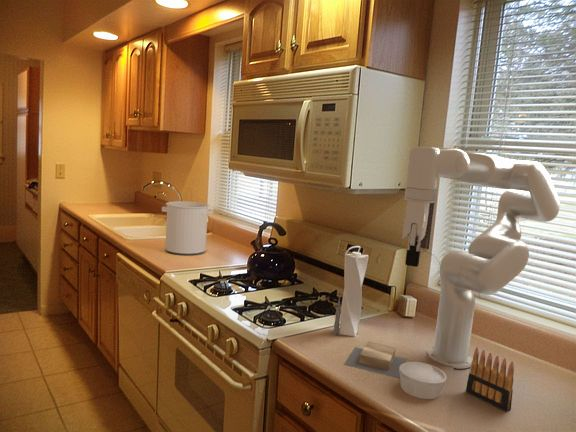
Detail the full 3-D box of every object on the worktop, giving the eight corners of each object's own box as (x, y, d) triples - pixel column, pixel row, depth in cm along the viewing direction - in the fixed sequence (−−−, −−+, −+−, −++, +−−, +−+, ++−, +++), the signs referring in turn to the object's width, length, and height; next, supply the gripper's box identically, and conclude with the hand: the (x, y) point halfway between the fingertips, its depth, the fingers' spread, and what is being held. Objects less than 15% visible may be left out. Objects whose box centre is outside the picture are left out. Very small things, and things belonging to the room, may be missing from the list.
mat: (355, 348, 139) (355, 347, 139) (406, 361, 134) (407, 358, 134) (343, 366, 127) (343, 364, 127) (399, 380, 122) (399, 378, 122)
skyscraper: (337, 327, 155) (345, 243, 151) (361, 331, 153) (370, 246, 149) (332, 336, 147) (340, 248, 143) (358, 341, 145) (367, 252, 141)
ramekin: (453, 401, 114) (456, 381, 113) (412, 405, 110) (415, 384, 110) (427, 379, 124) (429, 360, 123) (389, 382, 121) (391, 362, 120)
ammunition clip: (465, 391, 119) (471, 346, 117) (469, 390, 120) (475, 345, 118) (507, 412, 110) (514, 363, 109) (510, 410, 112) (518, 362, 110)
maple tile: (359, 362, 129) (367, 349, 138) (388, 369, 126) (394, 355, 135) (360, 354, 129) (368, 341, 138) (389, 361, 126) (395, 347, 135)
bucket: (156, 254, 233) (158, 205, 229) (163, 245, 254) (165, 199, 251) (209, 257, 235) (211, 208, 232) (212, 247, 257) (214, 203, 253)
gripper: (409, 192, 129) (401, 257, 132) (400, 195, 115) (392, 268, 118) (437, 195, 127) (429, 262, 129) (432, 199, 113) (423, 274, 115)
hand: (411, 265), depth 124 cm, fingers closed
